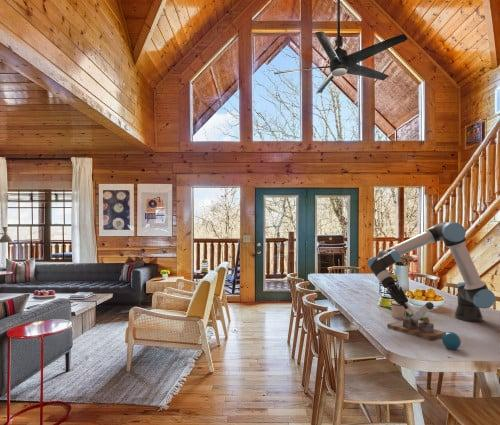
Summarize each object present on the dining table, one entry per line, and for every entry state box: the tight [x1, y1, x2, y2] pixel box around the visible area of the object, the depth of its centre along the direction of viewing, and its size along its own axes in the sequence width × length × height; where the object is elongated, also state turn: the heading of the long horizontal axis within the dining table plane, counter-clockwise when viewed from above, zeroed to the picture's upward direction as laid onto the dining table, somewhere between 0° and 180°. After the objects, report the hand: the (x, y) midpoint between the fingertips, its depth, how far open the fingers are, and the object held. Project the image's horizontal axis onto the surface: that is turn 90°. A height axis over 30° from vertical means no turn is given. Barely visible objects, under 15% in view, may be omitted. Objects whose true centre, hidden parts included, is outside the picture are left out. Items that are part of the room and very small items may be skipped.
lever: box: [408, 301, 435, 325], centre depth 189 cm, size 4×4×19 cm
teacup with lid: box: [390, 300, 407, 320], centre depth 223 cm, size 12×9×12 cm
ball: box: [441, 331, 462, 350], centre depth 165 cm, size 8×8×8 cm
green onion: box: [385, 305, 428, 321], centre depth 225 cm, size 5×3×30 cm
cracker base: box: [386, 316, 446, 341], centre depth 191 cm, size 26×14×9 cm, turn 33°
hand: (412, 313), depth 193 cm, fingers closed
